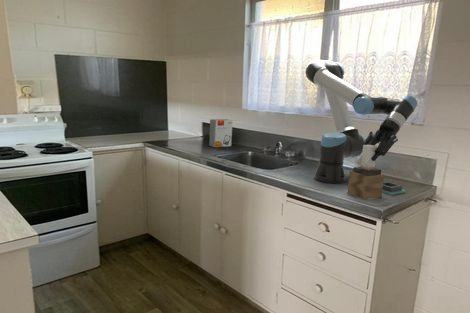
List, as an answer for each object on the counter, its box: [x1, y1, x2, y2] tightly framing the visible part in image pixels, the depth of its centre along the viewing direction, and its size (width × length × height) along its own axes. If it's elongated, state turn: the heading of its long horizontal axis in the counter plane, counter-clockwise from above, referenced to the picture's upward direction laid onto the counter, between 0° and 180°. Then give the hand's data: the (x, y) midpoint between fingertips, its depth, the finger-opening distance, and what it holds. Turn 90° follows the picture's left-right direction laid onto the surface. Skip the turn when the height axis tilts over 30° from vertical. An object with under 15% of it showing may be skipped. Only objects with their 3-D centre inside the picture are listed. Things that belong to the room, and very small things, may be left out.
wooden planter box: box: [347, 165, 385, 201], centre depth 149 cm, size 10×10×12 cm
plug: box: [360, 145, 378, 170], centre depth 147 cm, size 4×4×12 cm
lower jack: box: [382, 180, 406, 196], centre depth 157 cm, size 10×10×3 cm
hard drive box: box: [208, 118, 234, 148], centre depth 255 cm, size 16×8×20 cm, turn 125°
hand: (362, 164), depth 145 cm, fingers closed on plug, 4 cm apart
